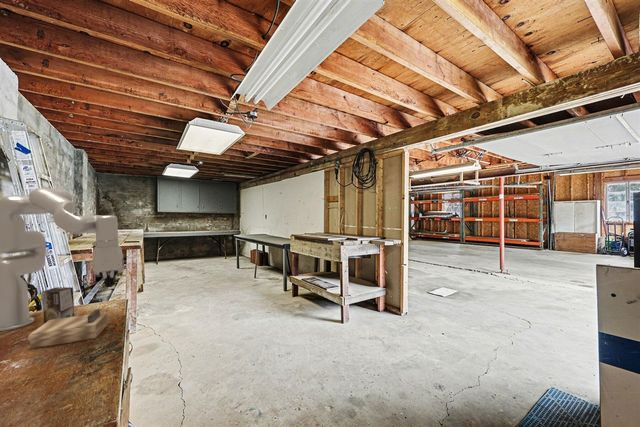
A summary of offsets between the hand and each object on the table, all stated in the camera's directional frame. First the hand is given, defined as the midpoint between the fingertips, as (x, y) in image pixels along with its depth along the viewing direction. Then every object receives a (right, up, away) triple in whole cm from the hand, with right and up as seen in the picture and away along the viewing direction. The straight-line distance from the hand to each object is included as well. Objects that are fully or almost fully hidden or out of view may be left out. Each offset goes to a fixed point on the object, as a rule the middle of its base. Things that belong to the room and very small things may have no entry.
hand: (110, 286), depth 118 cm
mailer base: (-12, -19, -4) cm, 23 cm away
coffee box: (-29, -19, +7) cm, 35 cm away
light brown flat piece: (-12, -16, -4) cm, 21 cm away
